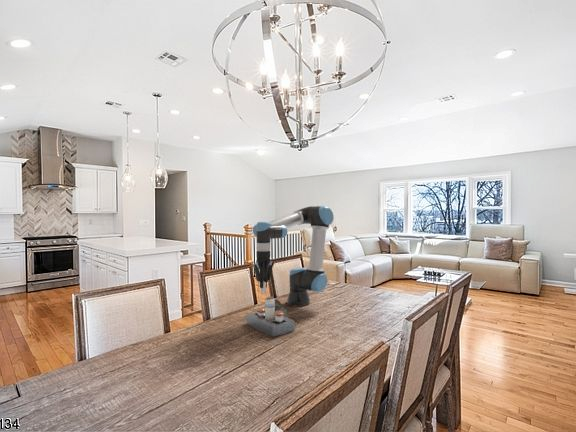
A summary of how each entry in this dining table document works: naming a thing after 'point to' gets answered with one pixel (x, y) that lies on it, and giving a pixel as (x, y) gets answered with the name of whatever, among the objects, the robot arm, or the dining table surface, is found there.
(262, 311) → the plunger
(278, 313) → the plunger
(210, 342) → the dining table surface
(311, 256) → the robot arm
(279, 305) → the beverage carton
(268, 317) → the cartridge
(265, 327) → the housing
